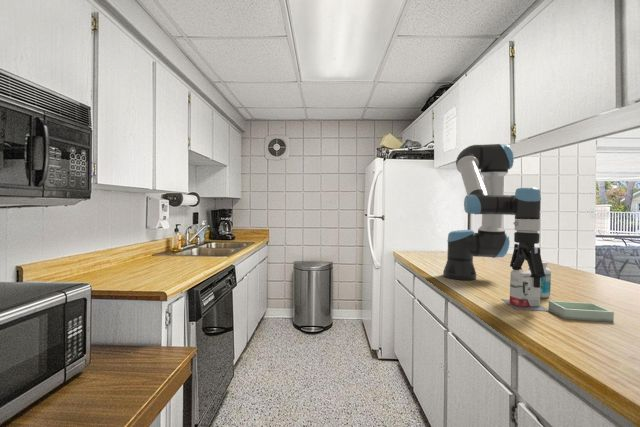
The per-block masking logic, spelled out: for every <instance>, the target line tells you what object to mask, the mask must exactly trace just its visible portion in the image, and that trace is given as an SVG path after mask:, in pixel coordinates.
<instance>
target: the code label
mask: <svg viewBox="0 0 640 427" xmlns="http://www.w3.org/2000/svg"><path fill="white" fill-rule="evenodd" d="M501 301H503V302H504V303H506V304H507V305H509V307H511V308H513V309H515V310H519V309H520V310H522V311H540V312H551V311H550V310H549V308H546V307H544V306H543V305H541V304H540V306H529V307H519V306H517V305H514V304H511V303H510V299H506V298H504V299H501Z"/></svg>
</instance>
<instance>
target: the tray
mask: <svg viewBox="0 0 640 427" xmlns="http://www.w3.org/2000/svg"><path fill="white" fill-rule="evenodd" d="M548 310H550V311H549V312H552V313H553V314H556V315H558V316H559V317H561V318H563V319H564V320H577V321H593V322H594V321H596V322H610V323H611V322H612V323H614V320H615V319H614V316H615V312H614V311H613V310H610V309H607V308H605V307H604V306H600V305H598V304H596V303H593V302H582V301H581V302H579V301H578V302H577V301H562V300H561V301H559V300H548Z"/></svg>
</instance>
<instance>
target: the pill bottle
mask: <svg viewBox="0 0 640 427" xmlns="http://www.w3.org/2000/svg"><path fill="white" fill-rule="evenodd" d="M542 264H543V269H544V273H545V277H542V278H541V287H540V299H541V298H542V299H547V298H550V297H551V285H552V284H551V283H552V282H551V281H552V270H551V269H550V268H549V267H547V266H548V262H547V261H542ZM527 270H530V268H528V269H527Z"/></svg>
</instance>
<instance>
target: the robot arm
mask: <svg viewBox="0 0 640 427" xmlns="http://www.w3.org/2000/svg"><path fill="white" fill-rule="evenodd" d="M514 158H515V157H514V152H513V149H512V147H511V146H510V145H509V144H504V143H503V144H501V143H494V144H493V143H490V144H473V145H469V146H467V147H466V148H464V149H462V150H461V151H460V152H459V154H458V155H457V157H456V160H455V166H456V169H457V170H456V171H457V172H459V173H460V175H461V179H462V181H463V185H464V188H465V192H466V195H465V197H464V200H463V206H464V207H463V208H464V212H465V213H466V214H471V215H473V214H474V215H481V225H480V226H479V227H478V228H477V232H475V231H474V230H473V229H459V230H452V231H450V232H449V233H448V234H447V241H446V242H447V258H446V263H445V266H444V268H443V271H442V272H443V274H442V276H443V277H444V278H447V279H452V280H460V281H473V280H476V279H477V272H476V269H475V265H474V257H475V258H477V257H478V258H493V259H495V258H503V257H505V256H506V255H507V254H508V252H509V249H510V236H509V234H508V233H506V230H505V228H503V226H502V225H503V216H504V215H505V216H508V215H509V216H510V215H511V216H514V221H513V225H514V231H515V232H514V234H513V238H514V239H513V242H514V243H513V244H514V245H513V246H514V247H513V252H512V256H511V260H510V262H509V263H510V264H509V267H510V268H511V269H512V270H523V268H522V266H523V265H524V262H525V261H526V262H527V265H528V267H529V268H530V271H531V274H532V275H531V276H530V297H540V278H542V277H545V273H544V269H543V264H542V255H541V247H537V246H535V244H537V245H538V244H539V243H540V238H541V237H540V235H541V234H540V231H541V200H542V197H541V189H540V188H537V187H519V188H516V189H515V192H514V194H504V183H505V182H504V181H505V176H506V175H508V173H509V170H510V169H512V168H513V166H514ZM482 176H483V177H482ZM529 268H528V269H529Z"/></svg>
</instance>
